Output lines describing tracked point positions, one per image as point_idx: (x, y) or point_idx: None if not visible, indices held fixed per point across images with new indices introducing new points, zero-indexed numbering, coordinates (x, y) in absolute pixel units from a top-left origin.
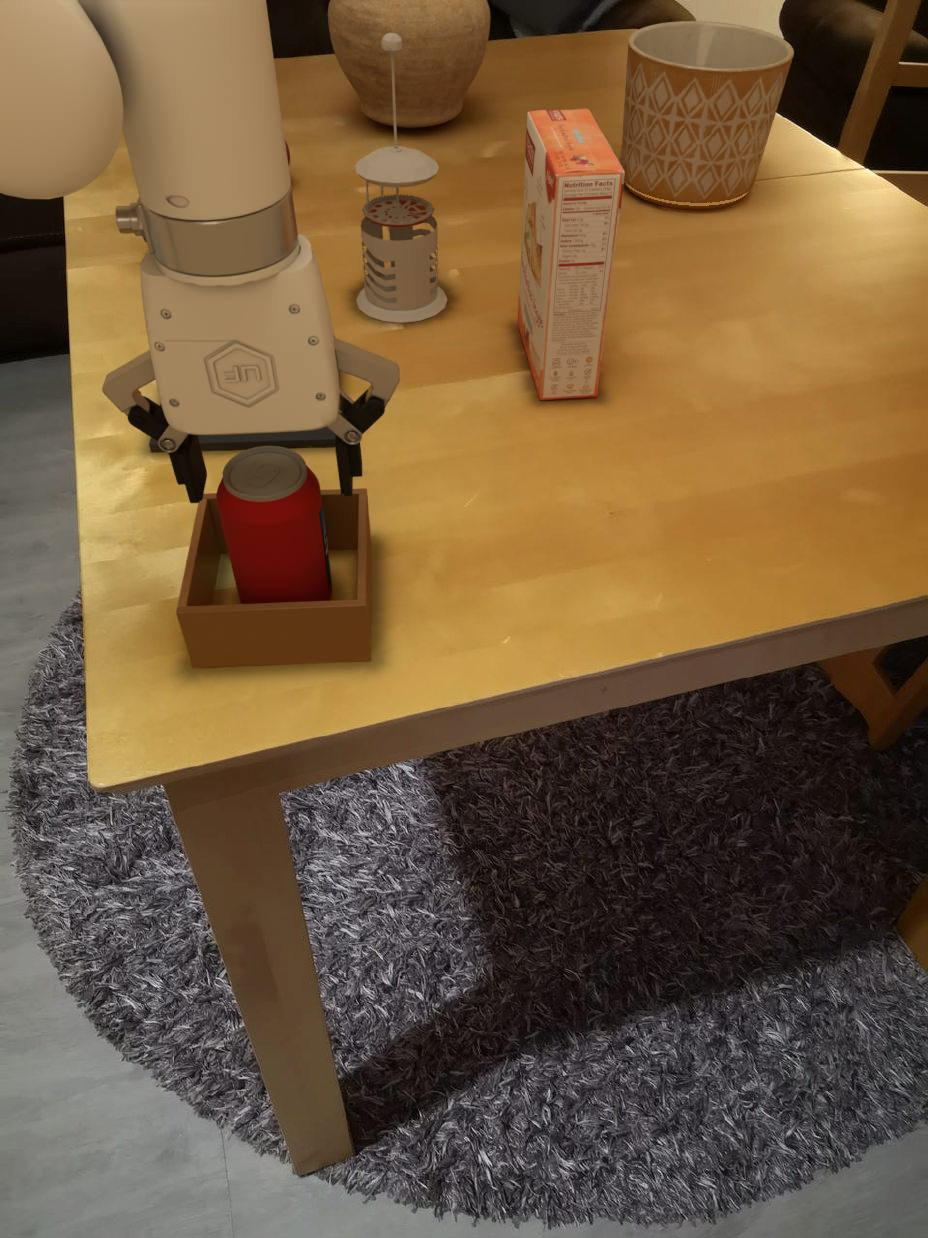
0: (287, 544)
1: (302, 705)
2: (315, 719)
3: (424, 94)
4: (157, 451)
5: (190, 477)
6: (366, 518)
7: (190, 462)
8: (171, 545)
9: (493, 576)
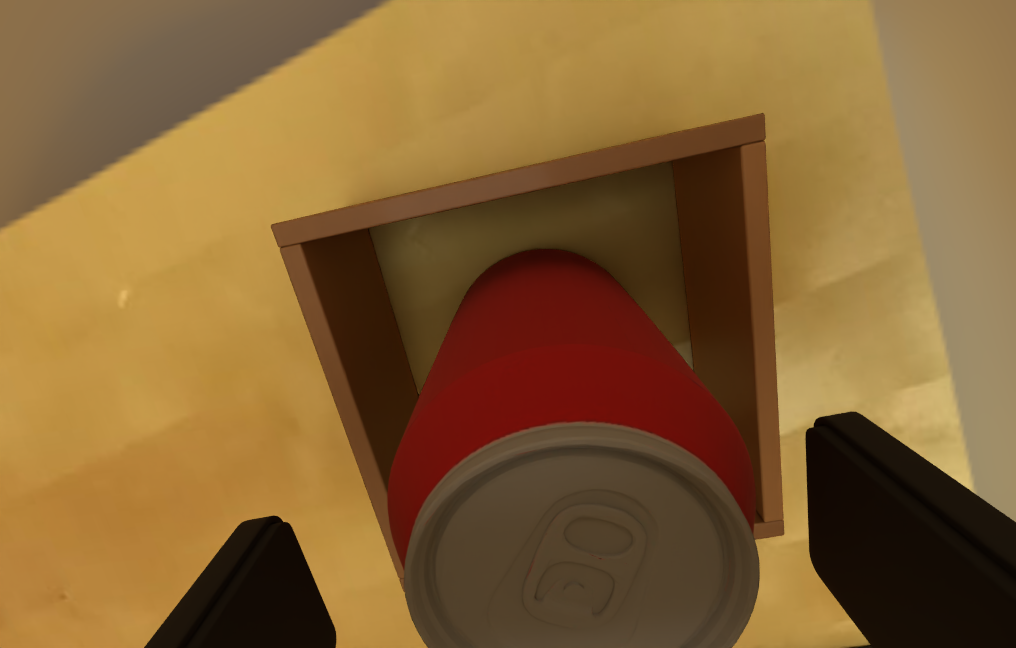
0: (475, 334)
1: (441, 67)
2: (404, 33)
3: None
4: (870, 646)
5: (928, 497)
6: (373, 507)
7: (993, 579)
8: (798, 437)
9: (199, 440)
